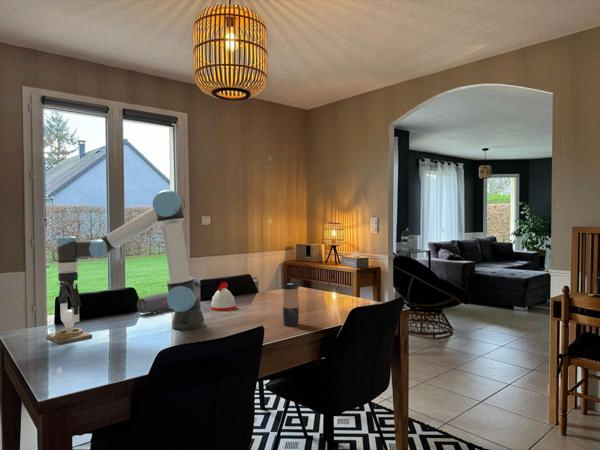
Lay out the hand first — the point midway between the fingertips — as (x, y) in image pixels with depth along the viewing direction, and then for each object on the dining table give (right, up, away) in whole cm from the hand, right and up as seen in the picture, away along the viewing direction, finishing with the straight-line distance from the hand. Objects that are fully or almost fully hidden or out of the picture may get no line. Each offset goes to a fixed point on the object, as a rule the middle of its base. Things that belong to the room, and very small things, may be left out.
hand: (69, 320), depth 186 cm
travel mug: (+97, -6, +17) cm, 99 cm away
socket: (0, -8, 0) cm, 8 cm away
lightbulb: (0, -7, 0) cm, 7 cm away
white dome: (+57, -7, +58) cm, 82 cm away
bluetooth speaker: (+22, -7, +52) cm, 57 cm away
